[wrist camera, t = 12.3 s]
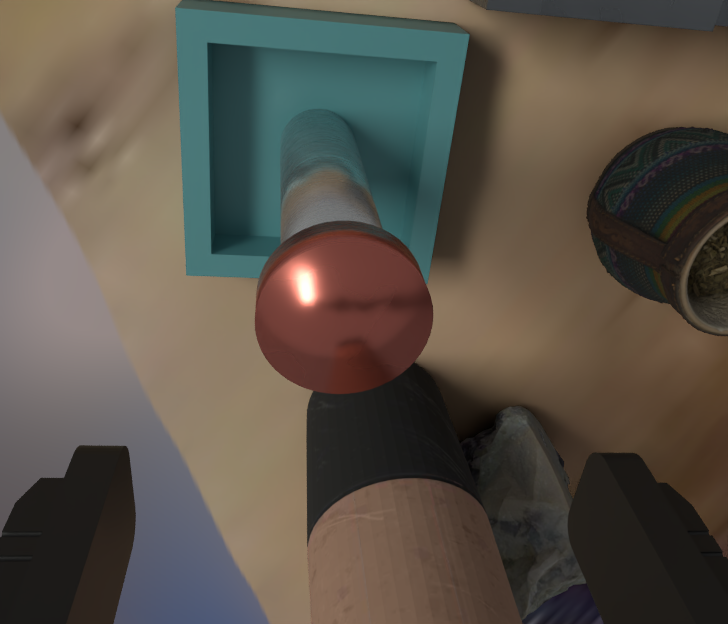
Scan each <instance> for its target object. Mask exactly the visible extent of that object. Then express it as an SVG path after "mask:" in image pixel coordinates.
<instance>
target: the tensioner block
mask: <svg viewBox="0 0 728 624" xmlns="http://www.w3.org/2000/svg"><path fill="white" fill-rule="evenodd" d="M470 1H472V2H473V3H475V4H477V5H479V6H481V7H483V8H484V9H486V10H496V11H506V12H516V13H527V14H537V15H547V16H558V17H568V18H578V19H589V20H599V21H609V22H620V23H630V24H641V25H651V26H661V27H672V28H682V29H692V30H703V31H713V29H714V26H715V25H718V26H728V0H470Z"/></svg>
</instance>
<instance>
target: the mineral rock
mask: <svg viewBox="0 0 728 624" xmlns="http://www.w3.org/2000/svg"><path fill="white" fill-rule="evenodd" d="M460 445H461V448H462V450H463V453H464V456H465V458H466V461H467V463H468V466H469V469H470V471H471V474H472V477H473V479H474V482H475V485H476V487H477V490H478V492H479V495H480V498H481V500H482V503H483V506H484V508H485V511H486V514H487V517H488V520H489V522H490V526H491V529H492V532H493V535H494V538H495V541H496V544H497V547H498V550H499V553H500V556H501V560H502V563H503V566H504V569H505V572H506V575H507V578H508V581H509V584H510V587H511V590H512V593H513V597H514V600H515V603H516V606H517V609H518V612H519V615H520V618H521V620H523V619H524V618H525V617H526V616H527V614H529V613H531V612H533V611H535V610H536V609H537V608H538V607H539V606H540V605H541V604H543V603H545V602H546V601H548V600H549V599H550V598H552V597H553V596H555V595H558V594H560V593H562V592H564V591H567V589H568V587H569V586H572V585H574V584H584V583H586V580H585V578H584V576H583V573H582V571H581V569H580V566H579V564H578V562H577V559H576V557H575V555H574V552H573V550H572V547H571V545H570V541H569V536H568V514H569V510H570V507H571V504H572V501H573V498H572V496H571V494H570V493H569V490H568V484H570V482H569V477H568V476H567V474H566V472H565V470H564V468H563V467H564V461H563V460H562V458H561V457H560V455H559V454H558V452H557V451H556V450H555V448H554V447H553V445H552V443H551V442H550V440H549V438H548V436H547V434H546V433H545V431H544V429H543V427H542V425H541V424H540V423H539V421H538V420H537V419H536V418H535V416H534V415H533V414H532V413H531V412H530V411H529V410H527V409H525V408H523V407H521V406H515V407H508V408H505V409H504V410H502V411H500V412H499V413H498V414H497V415H496V419H495V423H494V426H493V427H492V428H491V429H486V430H484V431H482V432H480V433H479V434H477V435H476V436H475V437H474V438H466V439H465V440H464V441H462V442H461V443H460Z"/></svg>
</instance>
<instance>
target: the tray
mask: <svg viewBox="0 0 728 624" xmlns="http://www.w3.org/2000/svg"><path fill="white" fill-rule="evenodd" d="M175 11H176V35H177V59H178V84H179V108H180V132H181V156H182V181H183V205H184V229H185V253H186V275H189V276H217V277H245V278H259V277H260V274H261V272H262V269H263V267H264V265H265V263H266V262H267V260H268V258H269V257H270V256H271V254H272V253H273V252H274V251H275V249H276V248H277V247H279V246H280V245H281V208H280V141H281V136H282V133H283V130H284V128H285V127H286V125H287V124H288V122H289V121H290V120H291V119H292V118H293V117H295V116H296V115H297V114H299V113H301V112H303V111H306V110H310V109H326V110H329V111H332V112H334V113H336V114H338V115H339V116H341V117H342V118H343V119H344V120H345V121H346V122H347V123H348V125H349V126H350V128H351V130H352V132H353V135H354V138H355V141H356V144H357V148H358V151H359V154H360V157H361V161H362V164H363V167H364V170H365V173H366V177H367V180H368V183H369V186H370V190H371V193H372V196H373V199H374V202H375V206H376V209H377V212H378V215H379V219H380V222H381V225H382V228H383V229H384V230H385V231H387V232H389V233H391V234H392V235H394V236H395V237H397V238H398V239H399V240H401V241H402V242H403V243H404V244H405V245H406V246H407V247H408V249H409V250H410V251H411V253H412V254H413V255H414V257H415V259H416V261H417V262H418V264H419V267H420V270H421V272H422V275H423V278H424V280H425V283H426V284H427V283H428V277H429V272H430V266H431V260H432V254H433V248H434V242H435V236H436V230H437V224H438V218H439V212H440V207H441V201H442V195H443V189H444V183H445V177H446V171H447V165H448V159H449V153H450V148H451V142H452V136H453V130H454V124H455V118H456V112H457V106H458V100H459V94H460V88H461V83H462V77H463V71H464V65H465V59H466V53H467V47H468V41H469V35H470V34H468V33H467V32H466V31H464V30H463V29H462V28H460V27H459V26H457V25H456V24H455V23H450V22H439V21H428V20H418V19H407V18H396V17H385V16H375V15H364V14H353V13H342V12H332V11H321V10H310V9H299V8H288V7H278V6H267V5H256V4H245V3H235V2H224V1H213V0H182V1H181V2H180V3H179V4H178V5H177V6H176V8H175Z"/></svg>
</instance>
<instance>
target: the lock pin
mask: <svg viewBox="0 0 728 624" xmlns="http://www.w3.org/2000/svg"><path fill="white" fill-rule="evenodd" d="M280 208H281V245H280V246H279V247H277V248H276V249H275V251H274V252H273V253H272V254H271V256H270V257H269V258H268V260H267V262H266V263H265V265H264V267H263V269H262V272H261V274H260V277H259V281H258V285H257V293H256V310H255V331H256V336H257V340H258V343H259V346H260V348H261V351H262V352H263V354H264V356H265V358H266V359H267V360H268V362H269V363H270V364H271V365H272V367H273V368H274V369H275V370H276V371H278V372H279V373H280V374H281V375H282V376H284V377H285V378H286V379H288V380H290V381H291V382H293V383H295V384H297V385H299V386H301V387H304V388H306V389H310V390H313V391H317V392H323V393H330V394H349V393H356V392H362V391H366V390H370V389H373V388H375V387H378V386H381V385H383V384H385V383H387V382H389V381H391V380H392V379H394V378H396V377H397V376H399V375H400V374H401V373H403V372H404V371H405V370H406V369H408V368H409V367H410V366H411V365H412V364H413V363H414V362H415V360H416V359H417V358H418V356H419V355H420V354H421V352H422V351H423V349H424V347H425V345H426V343H427V341H428V338H429V336H430V333H431V329H432V323H433V305H432V301H431V296H430V294H429V291H428V288H427V286H426V283H425V280H424V278H423V275H422V272H421V270H420V267H419V264H418V262H417V261H416V259H415V257H414V255H413V254H412V253H411V251H410V250H409V249H408V247H407V246H406V245H405V244H404V243H403V242H402V241H401V240H399V239H398V238H397V237H395V236H394V235H392V234H391V233H389V232H387V231H385V230H384V229H383V228H382V225H381V222H380V219H379V215H378V212H377V209H376V206H375V202H374V199H373V196H372V193H371V190H370V186H369V183H368V180H367V177H366V173H365V170H364V167H363V164H362V161H361V157H360V154H359V151H358V148H357V144H356V141H355V138H354V135H353V132H352V130H351V128H350V126H349V125H348V123H347V122H346V121H345V120H344V119H343V118H342V117H341V116H339V115H338V114H336V113H334V112H332V111H329V110H326V109H310V110H306V111H303V112H301V113H299V114H297V115H296V116H295V117H293V118H292V119H291V120H290V121H289V122H288V124H287V125H286V127H285V128H284V130H283V133H282V136H281V141H280Z"/></svg>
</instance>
